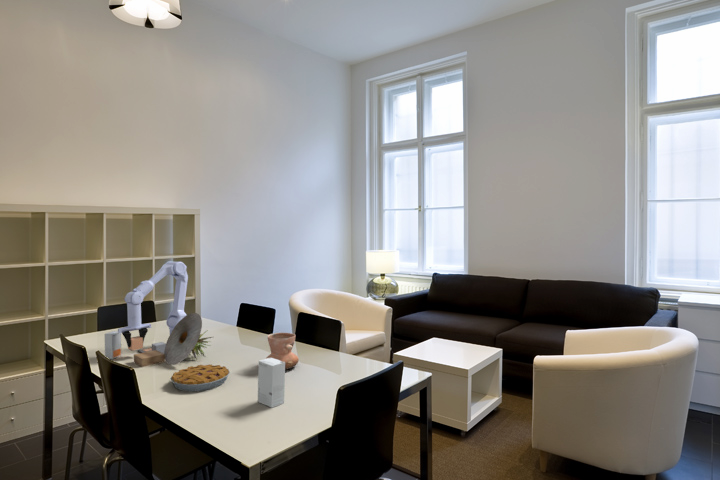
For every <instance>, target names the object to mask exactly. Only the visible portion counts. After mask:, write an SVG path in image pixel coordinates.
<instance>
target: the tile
mask: <svg viewBox="0 0 720 480" xmlns="http://www.w3.org/2000/svg"><path fill="white" fill-rule="evenodd" d="M149 351H152V346H151V347H146V348H142V349H137V352H138V353H144V352H149Z"/></svg>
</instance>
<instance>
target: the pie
mask: <svg viewBox="0 0 720 480" xmlns="http://www.w3.org/2000/svg"><path fill="white" fill-rule="evenodd" d="M230 374H231V372H230V370H229V368H227V367H226V366H224V365H223V366H221V365H220V364H217V365H213V364H205V365H204V364H198V365H197V366H193V365H191V366H188V367H187V368H182V369H179V370H178V371H175V372H173V374H172V375H171V377H170V381H171V383H173V385H174V387H175V388H176V389H178V390H180V391H184V392H185V391H186V392H202V391H208V390H211V389H214V388H217V387H220V386H221V385H223V384H225V382H226V381H227V379H228V376H229V375H230Z"/></svg>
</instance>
